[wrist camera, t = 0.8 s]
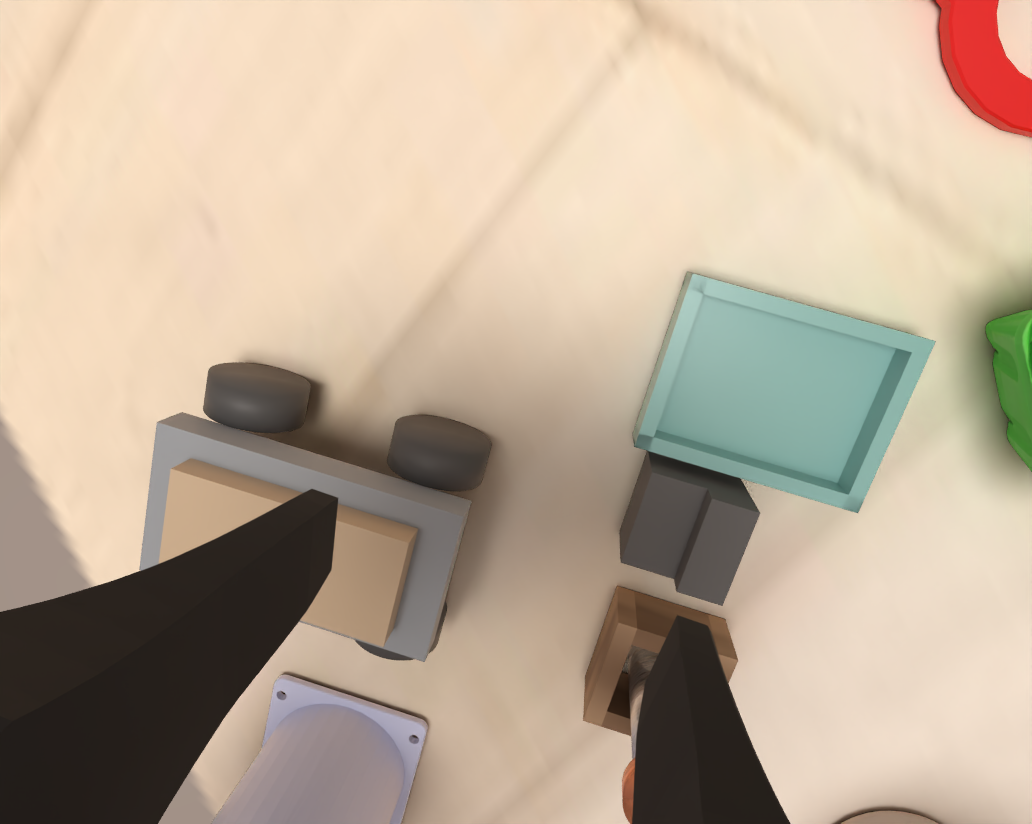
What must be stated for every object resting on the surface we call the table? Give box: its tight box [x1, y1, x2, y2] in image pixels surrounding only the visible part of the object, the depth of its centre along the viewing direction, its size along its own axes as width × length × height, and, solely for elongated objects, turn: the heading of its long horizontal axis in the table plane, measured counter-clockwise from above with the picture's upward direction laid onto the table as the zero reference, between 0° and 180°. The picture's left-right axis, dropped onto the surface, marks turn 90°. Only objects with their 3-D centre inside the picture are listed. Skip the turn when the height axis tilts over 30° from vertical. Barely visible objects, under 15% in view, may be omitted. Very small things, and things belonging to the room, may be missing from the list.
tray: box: [633, 272, 936, 513], centre depth 26 cm, size 7×9×2 cm
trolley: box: [140, 363, 492, 662], centre depth 27 cm, size 12×10×7 cm
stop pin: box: [622, 645, 658, 824], centre depth 26 cm, size 3×3×9 cm
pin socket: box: [583, 586, 738, 736], centre depth 29 cm, size 5×5×3 cm
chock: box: [619, 451, 760, 606], centre depth 27 cm, size 4×4×4 cm
